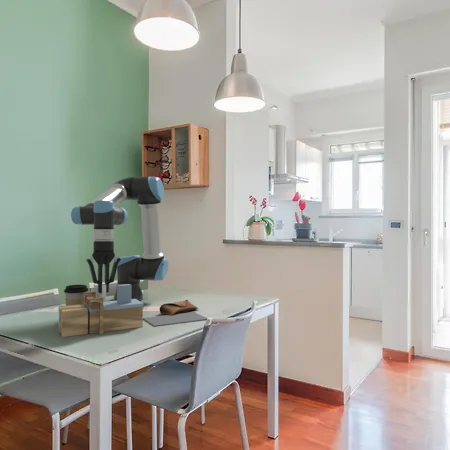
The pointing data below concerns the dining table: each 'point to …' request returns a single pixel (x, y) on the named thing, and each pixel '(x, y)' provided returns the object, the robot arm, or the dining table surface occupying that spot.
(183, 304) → the sunglasses case
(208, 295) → the dining table surface
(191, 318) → the mat
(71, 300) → the coffee cup
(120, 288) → the lid
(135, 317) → the toolbox
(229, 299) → the dining table surface
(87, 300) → the key
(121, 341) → the dining table surface
